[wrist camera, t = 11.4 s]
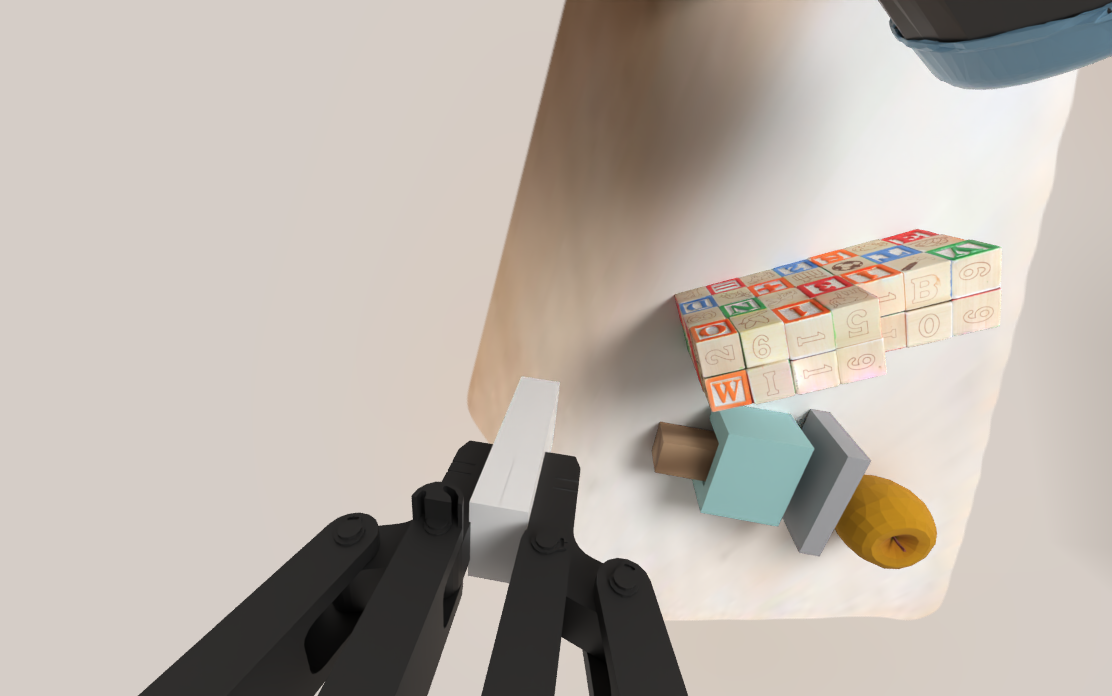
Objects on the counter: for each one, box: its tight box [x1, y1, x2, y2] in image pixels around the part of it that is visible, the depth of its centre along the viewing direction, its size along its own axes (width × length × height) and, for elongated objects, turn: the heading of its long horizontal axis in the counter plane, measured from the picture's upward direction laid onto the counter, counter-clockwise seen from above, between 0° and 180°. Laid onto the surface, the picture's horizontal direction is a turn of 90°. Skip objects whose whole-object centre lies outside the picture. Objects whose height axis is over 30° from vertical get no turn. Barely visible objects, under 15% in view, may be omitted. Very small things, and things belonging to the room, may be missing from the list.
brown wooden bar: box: [652, 422, 719, 482], centre depth 48 cm, size 4×10×4 cm, turn 82°
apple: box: [835, 475, 937, 569], centre depth 46 cm, size 9×8×9 cm
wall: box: [782, 409, 871, 556], centre depth 45 cm, size 12×2×8 cm, turn 172°
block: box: [692, 406, 814, 527], centre depth 46 cm, size 10×8×6 cm
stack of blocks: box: [675, 229, 1002, 412], centre depth 36 cm, size 21×6×12 cm, turn 109°
